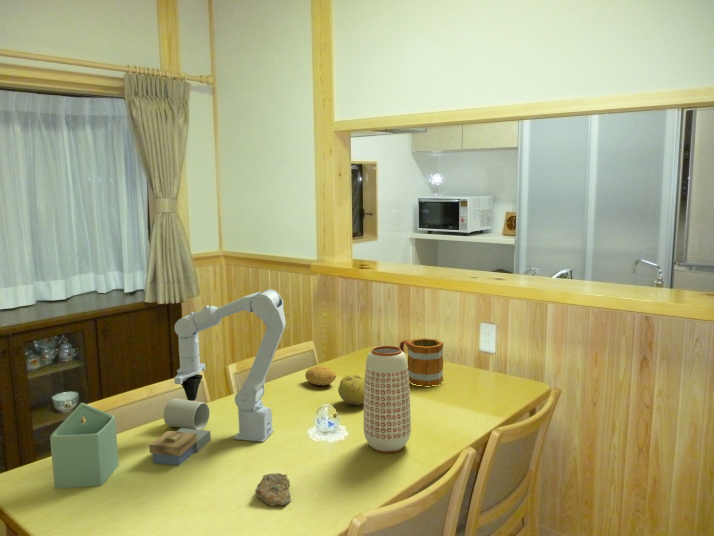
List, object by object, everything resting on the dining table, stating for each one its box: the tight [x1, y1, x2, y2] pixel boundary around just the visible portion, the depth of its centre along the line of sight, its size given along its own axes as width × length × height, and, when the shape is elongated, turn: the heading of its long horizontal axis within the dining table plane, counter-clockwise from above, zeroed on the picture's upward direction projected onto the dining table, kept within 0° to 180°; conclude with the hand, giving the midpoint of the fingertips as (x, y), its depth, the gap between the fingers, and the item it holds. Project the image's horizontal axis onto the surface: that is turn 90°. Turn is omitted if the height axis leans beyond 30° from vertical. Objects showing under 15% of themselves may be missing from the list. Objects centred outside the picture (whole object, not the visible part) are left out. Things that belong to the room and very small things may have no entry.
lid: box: [148, 430, 197, 456], centre depth 160 cm, size 9×9×3 cm
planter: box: [49, 402, 120, 490], centre depth 147 cm, size 16×8×20 cm, turn 138°
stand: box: [176, 428, 212, 453], centre depth 168 cm, size 10×8×3 cm
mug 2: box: [399, 338, 444, 386], centre depth 222 cm, size 20×14×15 cm
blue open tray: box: [151, 445, 196, 466], centre depth 160 cm, size 8×8×3 cm
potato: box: [305, 365, 337, 387], centre depth 218 cm, size 9×13×7 cm
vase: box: [363, 345, 412, 454], centre depth 164 cm, size 13×13×28 cm
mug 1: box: [163, 397, 211, 430], centre depth 182 cm, size 12×8×11 cm
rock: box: [254, 472, 292, 507], centre depth 139 cm, size 9×6×10 cm
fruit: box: [337, 373, 365, 405], centre depth 198 cm, size 11×12×10 cm
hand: (191, 399), depth 175 cm, fingers closed
